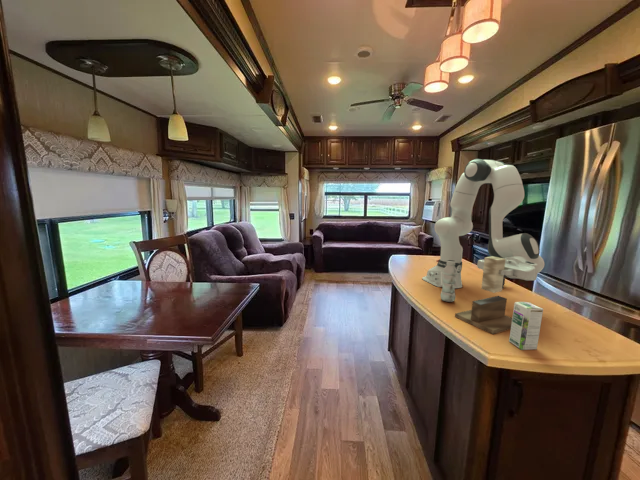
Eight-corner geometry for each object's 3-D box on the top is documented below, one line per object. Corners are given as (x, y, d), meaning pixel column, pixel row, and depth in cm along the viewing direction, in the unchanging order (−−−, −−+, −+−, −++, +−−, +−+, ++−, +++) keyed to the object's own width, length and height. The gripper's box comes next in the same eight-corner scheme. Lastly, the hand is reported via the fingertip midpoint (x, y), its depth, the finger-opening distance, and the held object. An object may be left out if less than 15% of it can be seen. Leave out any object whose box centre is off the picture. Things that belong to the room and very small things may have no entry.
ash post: (481, 288, 110) (484, 257, 108) (489, 287, 112) (492, 256, 110) (493, 292, 105) (497, 259, 103) (501, 291, 107) (505, 258, 105)
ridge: (454, 316, 114) (456, 296, 112) (483, 310, 121) (485, 290, 120) (492, 334, 100) (495, 311, 98) (522, 325, 107) (525, 303, 106)
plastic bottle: (456, 301, 132) (460, 260, 129) (452, 304, 127) (456, 263, 124) (442, 297, 136) (446, 258, 133) (438, 301, 131) (441, 260, 128)
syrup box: (508, 341, 95) (513, 301, 93) (523, 340, 95) (529, 301, 93) (521, 350, 89) (527, 308, 87) (538, 349, 90) (544, 308, 88)
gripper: (489, 255, 121) (468, 257, 116) (542, 265, 103) (520, 268, 97) (488, 268, 122) (467, 271, 117) (540, 281, 104) (518, 285, 98)
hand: (492, 270), depth 107 cm, fingers closed on ash post, 5 cm apart
